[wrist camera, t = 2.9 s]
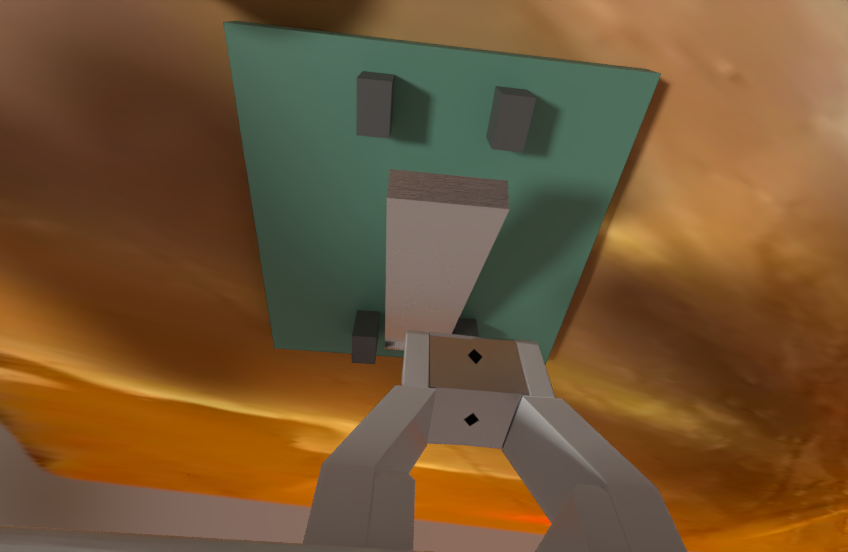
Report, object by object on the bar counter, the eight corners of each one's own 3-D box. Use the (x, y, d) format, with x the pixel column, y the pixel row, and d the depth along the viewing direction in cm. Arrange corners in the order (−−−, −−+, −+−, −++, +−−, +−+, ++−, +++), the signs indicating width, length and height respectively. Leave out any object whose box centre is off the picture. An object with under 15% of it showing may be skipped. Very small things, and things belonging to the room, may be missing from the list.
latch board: (280, 333, 30) (262, 375, 27) (236, 20, 19) (196, 25, 15) (539, 352, 31) (553, 394, 28) (646, 69, 20) (690, 83, 17)
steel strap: (386, 327, 28) (384, 352, 27) (390, 162, 13) (386, 205, 13) (443, 331, 28) (442, 356, 27) (507, 173, 14) (509, 217, 13)
